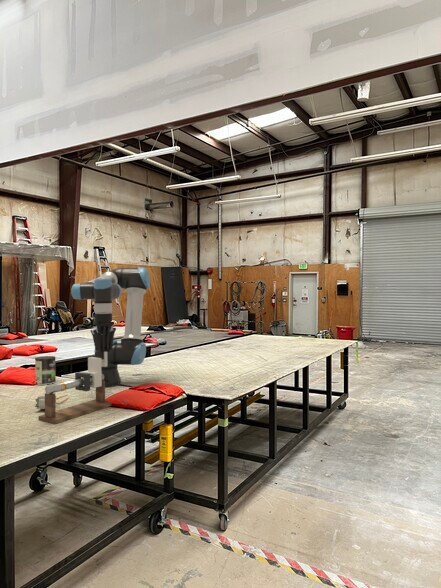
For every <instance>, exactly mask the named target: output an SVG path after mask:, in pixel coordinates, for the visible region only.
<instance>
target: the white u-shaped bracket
mask: <svg viewBox="0 0 441 588" xmlns="http://www.w3.org/2000/svg"><path fill="white" fill-rule="evenodd" d="M83 373H88V374H90V376H93V383H90V388H92V389H96V387H100V386H102V373H101V358H96V357H95V356H91V357H87V371H85V372H83Z"/></svg>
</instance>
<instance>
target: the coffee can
mask: <svg viewBox="0 0 441 588" xmlns="http://www.w3.org/2000/svg"><path fill="white" fill-rule="evenodd" d="M34 362H35V366H34V367H35V368H34V369H35V370H34V371H35V372H34V373H35V380H36V379H37V384H38V385H37V386H48V385H47V384H49V385H53V384H56V382H57V380H56V377H57V376H56V356H53V355H52V356H51V355H47V356H46V355H44V356H38V357H35V358H34ZM52 383H53V384H52Z"/></svg>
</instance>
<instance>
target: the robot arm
mask: <svg viewBox="0 0 441 588" xmlns="http://www.w3.org/2000/svg"><path fill="white" fill-rule="evenodd" d="M150 288H151V277H150V273H149V270H148V269H147V268H146V267H141V266H138V267H118V268H114V269H110V270H107V271H106V272H104V273H103V274H102V275H101V276H99V277H96V278H94V279H92V280H89V281H86V282H83V283H80V282H79V283H74V284H73V285H72V286H71V291H70V293H71V296H72V298H73V300H80V301H81V300H84V301H85V300H94V303H93V304H94V305H93V306H94V313H95V314H94V323H95V326H94V328H93V329H91V330H90V333H91V335H92V336H91V337H92V340H93V344H94V357H96V358H101V373H102V374H103V375H104V380H103V381H105V388H111V387H115V386H119V385H121V383H122V379H121V377H120V376H121V375H120V373H119V371H118V370H119V369H118V366H119V365H120V366H121V365H122V366H123V365H124V366H137V365H138V366H139V365H141V364H143V363H144V360H145V357H146V355H147V345H146V343H145V342H144V339H143V338H142V337H141V335H142V333H141V332H142V318H143V307H144V306H143V304H144V295H145V294H147V289H150ZM122 289H124V290H125V291H124V292H125V293H127V298H126V299H127V300H126V313H125V321H124V324H125V325H124V334H123V335H124V336H123V337H121V339H120V342H118V340H117V339H114V338H115V332H116V330H117V327H114V326H113V324H112V321H113V313H112V312H113V300H116V299H119V298H120V297H121V296H122V292H123V290H122Z"/></svg>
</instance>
